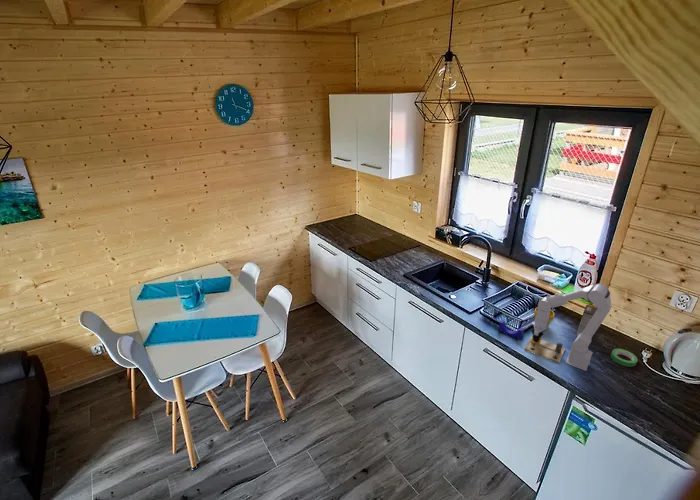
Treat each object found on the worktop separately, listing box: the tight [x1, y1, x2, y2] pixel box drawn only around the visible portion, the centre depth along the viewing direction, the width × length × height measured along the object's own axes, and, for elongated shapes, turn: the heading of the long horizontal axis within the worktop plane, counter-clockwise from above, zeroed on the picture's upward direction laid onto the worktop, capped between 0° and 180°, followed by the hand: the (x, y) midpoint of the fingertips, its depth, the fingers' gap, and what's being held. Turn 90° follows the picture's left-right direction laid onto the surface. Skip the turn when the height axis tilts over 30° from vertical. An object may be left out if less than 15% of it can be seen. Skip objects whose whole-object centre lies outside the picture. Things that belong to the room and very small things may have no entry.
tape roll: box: [610, 348, 638, 368], centre depth 203 cm, size 11×11×3 cm
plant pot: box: [533, 306, 555, 328], centre depth 227 cm, size 10×10×10 cm
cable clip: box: [498, 319, 524, 340], centre depth 221 cm, size 12×4×6 cm, turn 48°
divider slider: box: [531, 335, 543, 349], centre depth 210 cm, size 4×8×6 cm, turn 142°
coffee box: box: [576, 304, 597, 336], centre depth 219 cm, size 9×6×16 cm
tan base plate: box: [523, 335, 566, 364], centre depth 208 cm, size 17×13×6 cm
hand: (536, 339), depth 212 cm, fingers closed on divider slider, 3 cm apart
